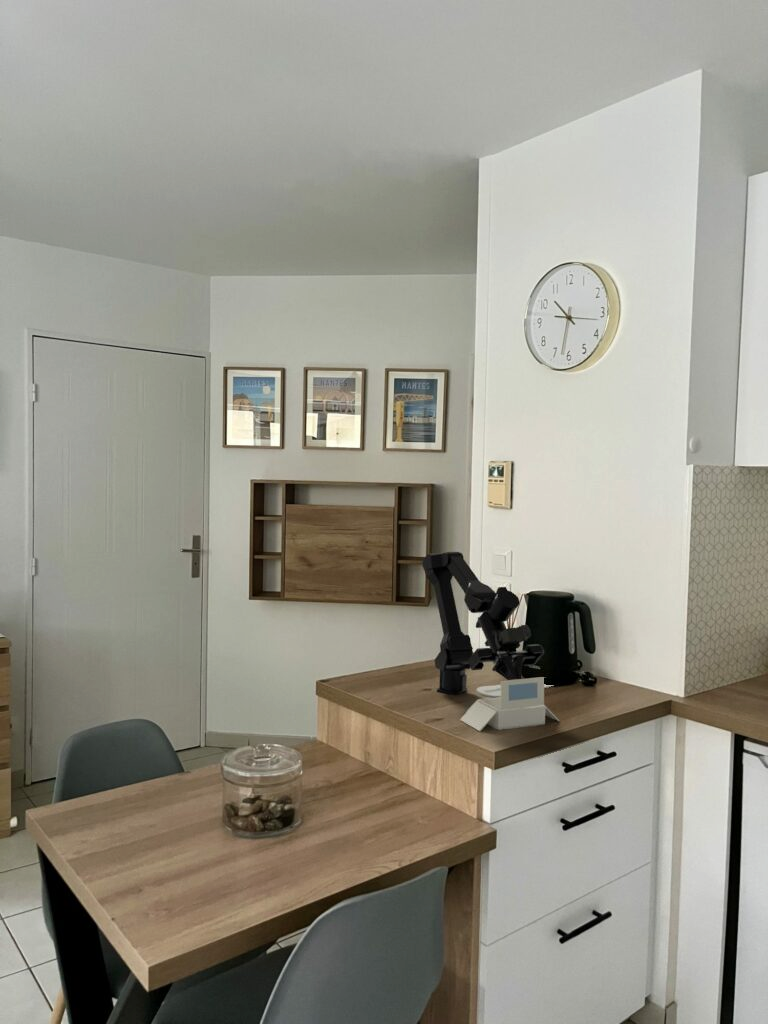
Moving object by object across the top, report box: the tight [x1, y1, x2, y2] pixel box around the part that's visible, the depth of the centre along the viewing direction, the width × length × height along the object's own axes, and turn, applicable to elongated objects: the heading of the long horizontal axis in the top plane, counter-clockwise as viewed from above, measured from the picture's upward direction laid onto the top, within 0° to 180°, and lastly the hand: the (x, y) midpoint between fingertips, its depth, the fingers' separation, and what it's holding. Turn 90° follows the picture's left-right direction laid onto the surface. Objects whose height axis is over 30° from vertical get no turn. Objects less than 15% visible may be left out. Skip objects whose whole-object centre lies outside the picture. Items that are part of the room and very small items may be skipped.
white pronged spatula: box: [476, 684, 554, 698], centre depth 219 cm, size 28×1×10 cm
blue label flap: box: [500, 676, 545, 709], centre depth 183 cm, size 6×12×1 cm
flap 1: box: [460, 700, 497, 732], centre depth 184 cm, size 9×6×1 cm
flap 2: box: [545, 706, 560, 722], centre depth 191 cm, size 9×6×1 cm
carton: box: [476, 697, 547, 731], centre depth 188 cm, size 10×13×4 cm
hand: (519, 687), depth 184 cm, fingers closed
